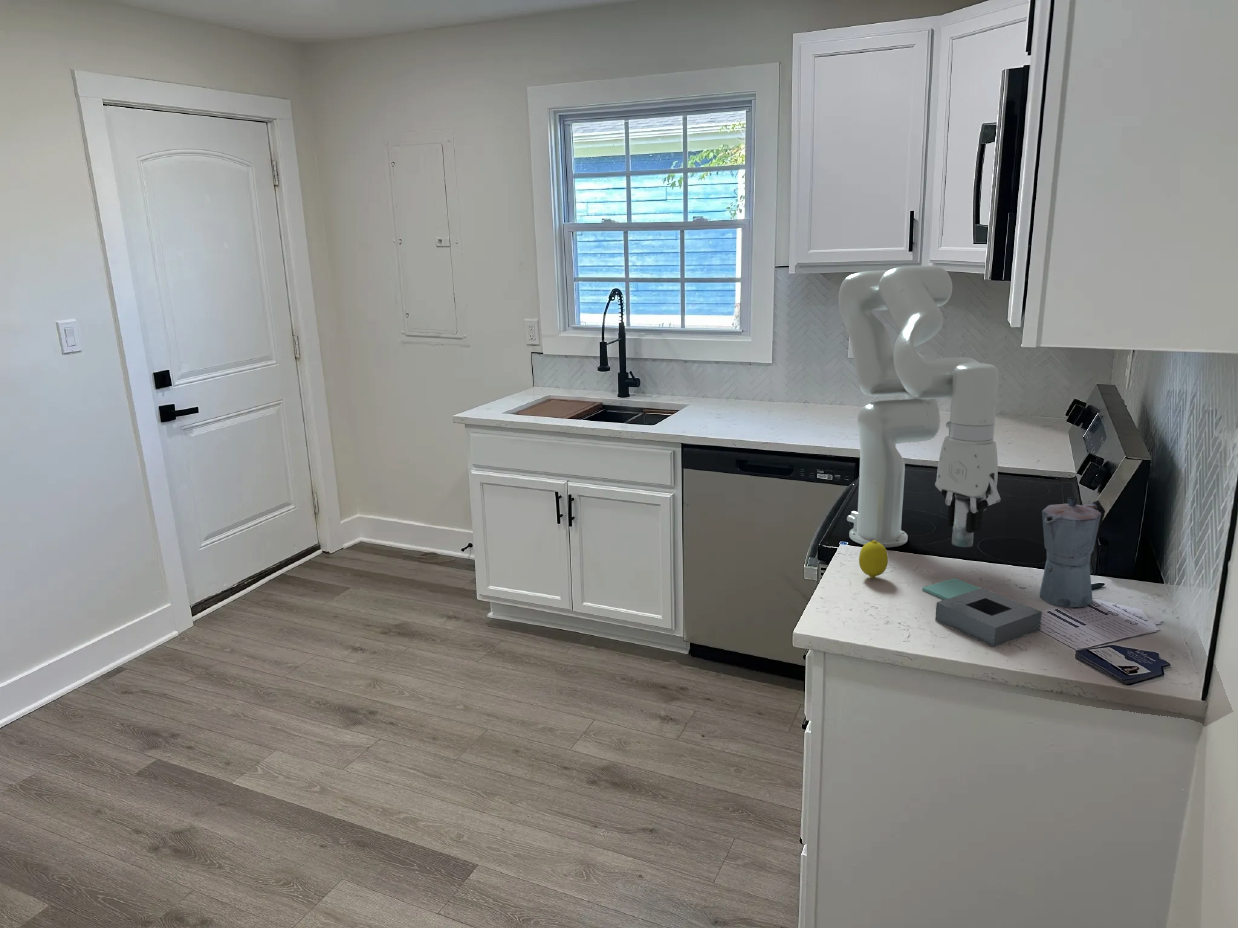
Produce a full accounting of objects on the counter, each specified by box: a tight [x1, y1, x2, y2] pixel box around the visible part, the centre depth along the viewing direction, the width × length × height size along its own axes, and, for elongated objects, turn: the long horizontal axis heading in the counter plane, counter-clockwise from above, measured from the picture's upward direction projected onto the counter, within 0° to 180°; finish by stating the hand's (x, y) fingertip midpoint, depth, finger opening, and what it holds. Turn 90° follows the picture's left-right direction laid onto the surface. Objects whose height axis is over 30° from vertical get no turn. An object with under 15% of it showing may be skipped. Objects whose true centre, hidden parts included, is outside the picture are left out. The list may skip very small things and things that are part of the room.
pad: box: [921, 577, 981, 600], centre depth 161 cm, size 9×9×1 cm
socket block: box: [934, 587, 1043, 648], centre depth 147 cm, size 12×12×4 cm
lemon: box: [858, 540, 889, 579], centre depth 168 cm, size 6×6×8 cm
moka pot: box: [1039, 496, 1106, 608], centre depth 155 cm, size 10×15×20 cm, turn 119°
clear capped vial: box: [951, 493, 975, 548], centre depth 157 cm, size 4×4×10 cm
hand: (963, 527), depth 157 cm, fingers closed on clear capped vial, 3 cm apart
